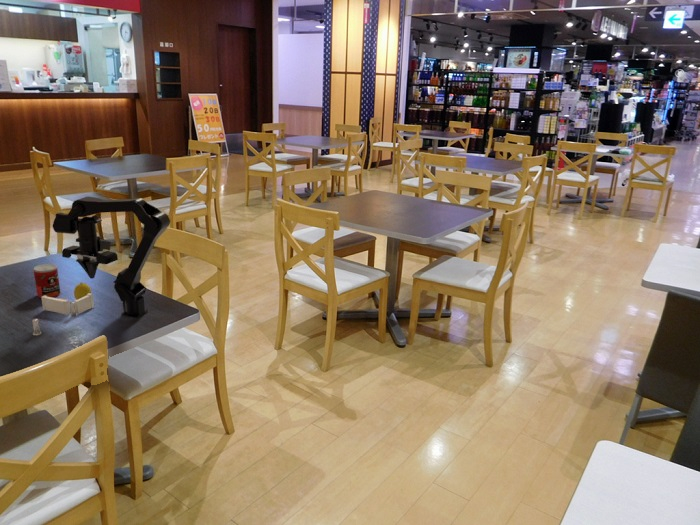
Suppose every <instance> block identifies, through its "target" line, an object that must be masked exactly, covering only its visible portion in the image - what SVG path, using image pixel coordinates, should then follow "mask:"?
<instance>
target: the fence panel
mask: <svg viewBox="0 0 700 525" xmlns="http://www.w3.org/2000/svg"><path fill="white" fill-rule="evenodd" d="M93 295H94V294H93V293H91V294H90V293H88V294H87V296H84V297H82V298H80V299H78V300H76V299H75V300H74V301H73V302H75V308H76V315H77V314H78V315H79V314H81V313H84V312H86V311H88V310H90V309H94V308H95V306H94V305H95V304H94V296H93Z"/></svg>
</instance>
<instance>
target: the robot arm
mask: <svg viewBox="0 0 700 525" xmlns="http://www.w3.org/2000/svg"><path fill="white" fill-rule="evenodd" d="M129 212H130V213H133V214H134V215H135V217H136V218H137V219H138V221H139V222H140V223H141V224H142V225H143V228H142V234H143V235H142V238H141V240H140V242H139V244H138V246H137V249H136V251H135V252H134V255H133V256H132V258H131V261H130V262H129V264H128V266H127V267H125V268H123V269H122V270H121V271H119V272H118V273H117V275H116V278H115V280H114V281H113V283H114V285H113V289H114V290H115V292H116V293H117V294H118V297H119V300H120V302H122V309H123V312H122V313H121V316H123V317H129V318H133V319H137V318H139V317H141V316H143V315H144V314H146V313H148V312H149V310H148V309H146V308H145V296H143V295H145V294H146V292H147V287H146V286H145V285H144V284H142V282H141V280H142V274H141V273H142V270H143V268H144V266H145V264H146V262H147V260H148V258H149V257H150V254H151V252H152V250H153V248H154V246H155V244H156V243H157V240H159V238H160V237H161V236H162V234H164V232H165V231H166V230H167V229H168V227H170V225H171V219H170V217H169V215H167V213H165V212H163V211H161V210H160V209H159V208H158V207H156V206H154V205H152V204H150V203H148V202H147V201H146V200H145V199H144V198H140V197H138V198H122V199H121V198H120V199H119V198H118V199H101V198H99V197H95V196H85V197H80V198H79V199H76V200H74V201H73V202H72V204H71V208H70V211H68V213H64V212H57V213H56V214H55V218H54V220H53V223H52V229H53V231H54V232H55V233H57V234H70V235H75V234H76V233H77V236H78V237H76V238H75V242H76V243H78V245H71V246H67V247H65V248H63V249H62V251H61V254H62V255H61V256H62V258H66V259H69V258H71V256H72V255H74V256H77V257H76V258H77V259H75V261H76V263H78V265H79V266H81V267H82V269H83V270H84V272H85V274H87V276H88V277H89V278H90V279H95V276H96V273H97V270H98V267H99V264H100V265H108V264H111V263H113V262H116V261H118V260H119V258H118V257H119V256H118V253H117V252H116V251H111V246H112V241H109V240H102V238H101V236H100V235H99V236H98V233H97V224H99V223H101V222H102V219H101V218H100V217H99V216H98V215H97V214H101V213H129ZM104 250H105V251H104Z"/></svg>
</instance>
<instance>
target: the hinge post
mask: <svg viewBox="0 0 700 525" xmlns="http://www.w3.org/2000/svg"><path fill="white" fill-rule="evenodd" d="M69 306H70V316H71V318H76V317H77V313H76V308H75V302H74V301H71V302H70V301H69Z"/></svg>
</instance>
